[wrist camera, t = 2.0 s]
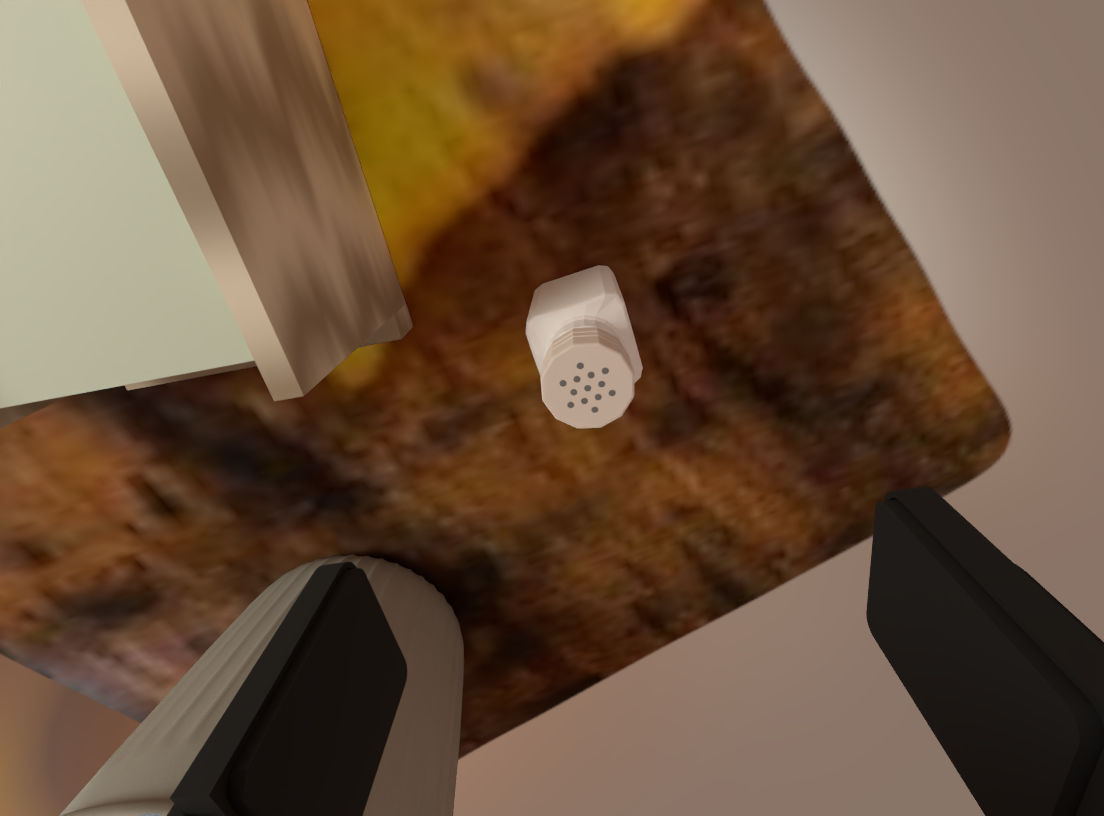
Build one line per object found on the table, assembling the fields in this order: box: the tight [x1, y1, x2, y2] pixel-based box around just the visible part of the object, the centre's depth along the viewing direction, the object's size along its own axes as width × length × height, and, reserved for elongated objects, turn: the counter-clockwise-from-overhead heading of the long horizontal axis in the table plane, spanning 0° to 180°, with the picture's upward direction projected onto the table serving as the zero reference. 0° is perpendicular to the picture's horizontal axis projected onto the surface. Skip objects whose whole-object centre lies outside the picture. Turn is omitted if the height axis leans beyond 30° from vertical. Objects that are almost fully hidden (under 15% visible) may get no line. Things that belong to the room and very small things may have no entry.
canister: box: [60, 554, 464, 816], centre depth 26 cm, size 18×18×21 cm
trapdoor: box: [0, 0, 254, 408], centre depth 15 cm, size 14×12×2 cm
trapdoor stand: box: [0, 0, 413, 428], centre depth 18 cm, size 18×15×11 cm
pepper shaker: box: [526, 265, 643, 429], centre depth 21 cm, size 4×4×10 cm
